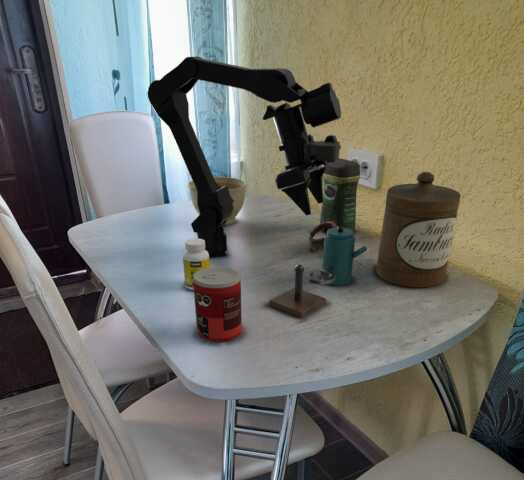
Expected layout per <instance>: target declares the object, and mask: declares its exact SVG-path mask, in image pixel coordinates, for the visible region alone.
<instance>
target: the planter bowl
mask: <svg viewBox="0 0 524 480" xmlns="http://www.w3.org/2000/svg"><path fill="white" fill-rule="evenodd" d="M213 177H214V179H215V181H216V182H217V183H218V184H219V185H220V186H221V187H222V188H223V187H224V186H227V187H228V189H229V193H230V196H231V198H232V199H233V200H234V202H233V203H232V204H233V212H232V215H231V216H230V217H229V218H228V219H227V221H226V224H225V225H224V226H228V225H231V224H234V223H235V222H236V218H237V216H238V214H239V213H240V212H241V210H242V208H243V206H244V203H245V200H246V191H247V190H246V189H247V186H248V185H247V181H246V180H243V179H240V178H236V177H229V176H227V177H226V176H213ZM187 187H188V190H189V196H190V200H191V203H192V205H193V207H194V209H195V212H196V213H197V214H198V216H199V215H200V213H199V209H198V206H197V190H196V187H195V185H194V183H193V180H192V179H191V180H190V181H189V182H188V186H187Z"/></svg>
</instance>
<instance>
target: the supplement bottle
mask: <svg viewBox="0 0 524 480" xmlns="http://www.w3.org/2000/svg"><path fill="white" fill-rule="evenodd" d="M184 245H185V250H184V252H183V253H182V262H183V277H184V286H185V288H186V289H189V290H191V291H194V287H193V275H194V274H195V273H196V272H197V271H199V270H202V269H205V268H210V267H211V266H210V257H209V253H208V252H207V251H206V250H204V249H205V241H204V240H203V239H197V237H195V238H189V239H186V240H185V242H184Z"/></svg>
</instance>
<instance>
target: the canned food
mask: <svg viewBox="0 0 524 480" xmlns="http://www.w3.org/2000/svg"><path fill="white" fill-rule="evenodd" d="M241 282H242V279H241V274H240V272H239V271H237V270H236V269H233V268H230V267H225V266H212V267H211V266H210V268H205V269H202V270H199V271H197V272H196V273H195V274H194V275H193V287H194V290H193V298H194V310H195V323H196V331H197V333H198V336H199V337H200V338H201V339H203V340H205V341H207V342H211V343H227V342H231V341H233V340H235V339H236V338H238V337H239V336H240V335H241V332H242V326H243V321H242V283H241Z"/></svg>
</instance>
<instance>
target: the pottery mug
mask: <svg viewBox="0 0 524 480" xmlns="http://www.w3.org/2000/svg"><path fill="white" fill-rule="evenodd" d="M338 227H339V226H336V224H335V223H334V222H333V221H330V222H324V223H321V224H320V223H319V224H318V225H316V226H314V227H313V228H312V229H311V231H310V232H309V237H308V240H309V243H308V244H309V245H308V248H309V250H310V252H312V251H313V250H314V251H319V250H324V237H321V238H314V237H315V236H316V235H317V234H318V233H319V232H320V231H322V232H323V234H324V235H325V233H327V230H328V229H331V228H338Z"/></svg>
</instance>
